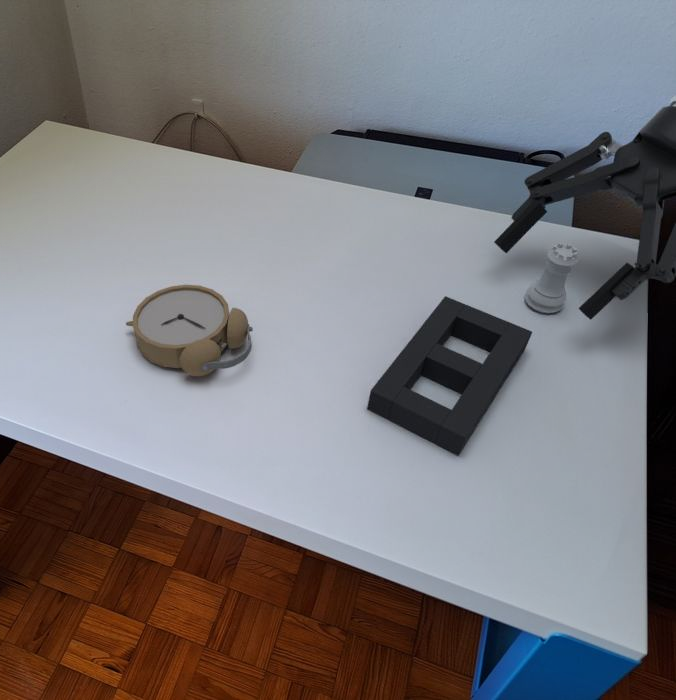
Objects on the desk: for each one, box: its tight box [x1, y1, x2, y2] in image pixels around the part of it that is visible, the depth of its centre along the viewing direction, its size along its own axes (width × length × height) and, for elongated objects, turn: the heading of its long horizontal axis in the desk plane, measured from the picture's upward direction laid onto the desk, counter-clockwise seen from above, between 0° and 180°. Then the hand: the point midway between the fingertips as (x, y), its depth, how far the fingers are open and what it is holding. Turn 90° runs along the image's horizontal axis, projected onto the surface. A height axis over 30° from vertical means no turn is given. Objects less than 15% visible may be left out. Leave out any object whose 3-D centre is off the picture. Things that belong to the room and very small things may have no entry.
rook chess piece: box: [524, 242, 579, 314], centre depth 80 cm, size 4×4×8 cm
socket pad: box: [366, 295, 533, 456], centre depth 74 cm, size 10×18×3 cm, turn 142°
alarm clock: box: [125, 284, 254, 377], centre depth 79 cm, size 11×5×15 cm
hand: (539, 279), depth 79 cm, fingers open, 12 cm apart
